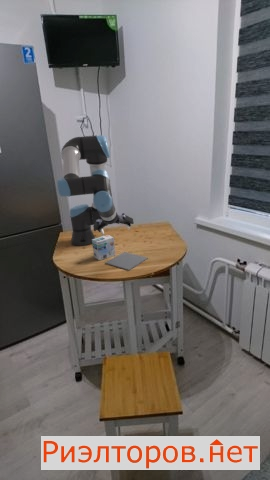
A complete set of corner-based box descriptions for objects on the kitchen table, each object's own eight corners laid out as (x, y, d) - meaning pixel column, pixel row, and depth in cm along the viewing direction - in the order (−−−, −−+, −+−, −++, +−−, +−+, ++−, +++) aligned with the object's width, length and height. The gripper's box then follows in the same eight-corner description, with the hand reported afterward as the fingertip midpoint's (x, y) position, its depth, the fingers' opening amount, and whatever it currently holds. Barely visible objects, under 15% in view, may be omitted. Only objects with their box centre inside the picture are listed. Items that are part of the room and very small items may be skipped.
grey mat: (105, 263, 148) (105, 262, 148) (124, 252, 160) (124, 251, 159) (129, 270, 139) (129, 269, 138) (147, 258, 150) (147, 257, 150)
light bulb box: (99, 260, 152) (97, 242, 148) (93, 257, 157) (91, 239, 153) (116, 255, 157) (114, 237, 154) (109, 251, 163) (108, 234, 159)
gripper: (82, 226, 127) (93, 241, 147) (136, 216, 126) (140, 232, 146) (80, 211, 130) (91, 228, 150) (134, 201, 129) (138, 219, 149)
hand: (115, 230), depth 148 cm, fingers open, 13 cm apart
